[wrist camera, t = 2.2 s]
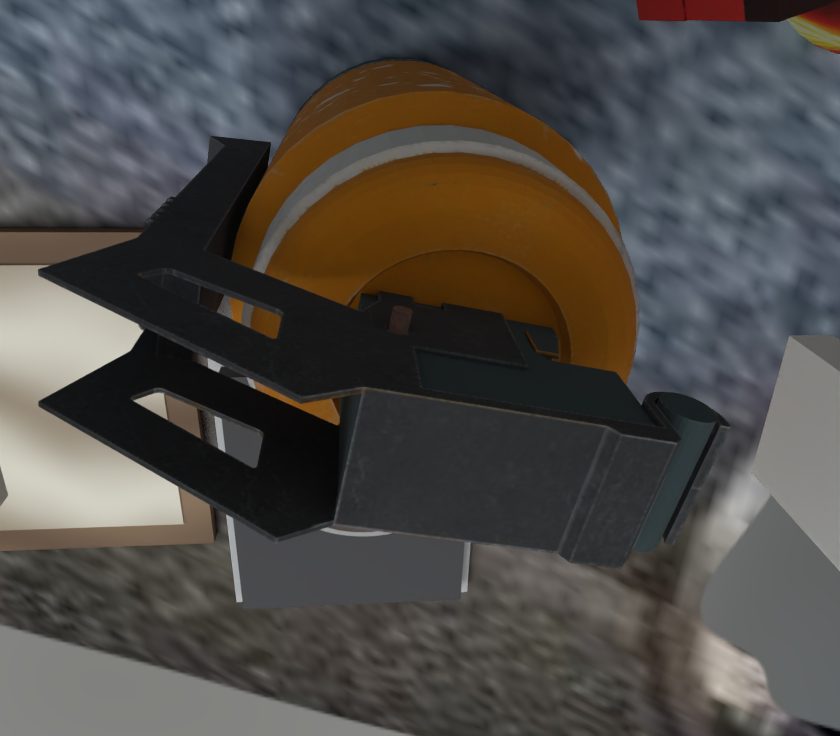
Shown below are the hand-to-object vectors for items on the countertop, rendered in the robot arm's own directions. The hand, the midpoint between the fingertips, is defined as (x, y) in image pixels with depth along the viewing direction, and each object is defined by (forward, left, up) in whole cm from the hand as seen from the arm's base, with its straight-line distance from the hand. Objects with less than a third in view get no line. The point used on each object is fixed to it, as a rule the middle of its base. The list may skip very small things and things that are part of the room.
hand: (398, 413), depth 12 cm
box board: (+9, -14, -17) cm, 24 cm away
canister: (0, 0, -18) cm, 18 cm away
